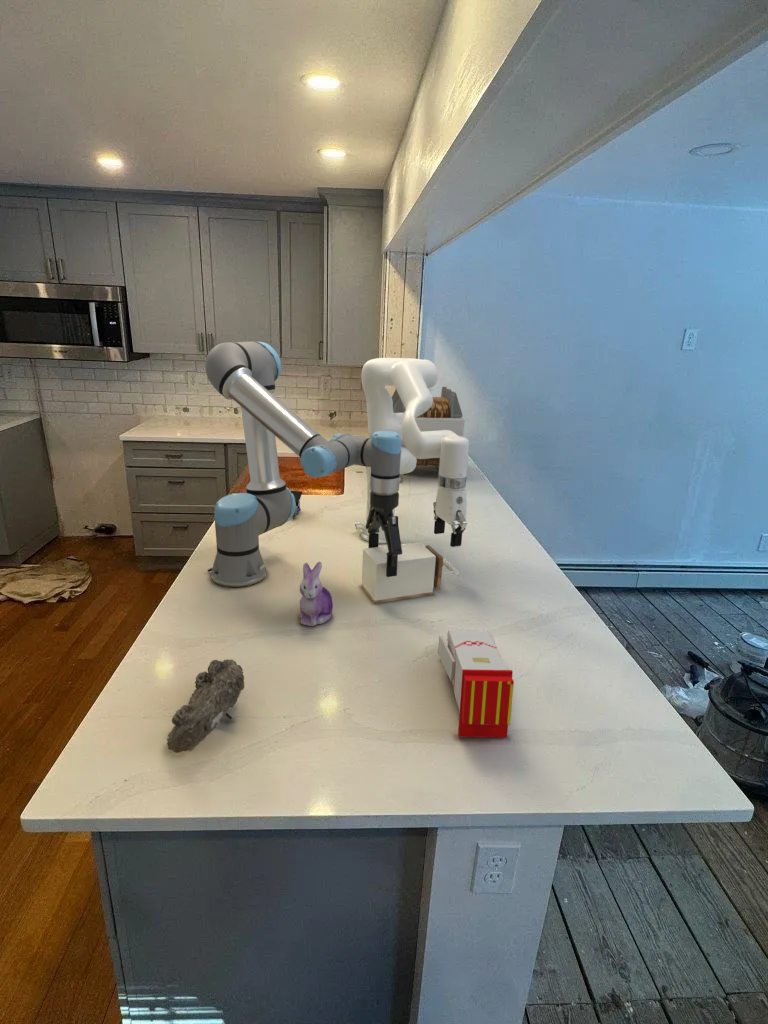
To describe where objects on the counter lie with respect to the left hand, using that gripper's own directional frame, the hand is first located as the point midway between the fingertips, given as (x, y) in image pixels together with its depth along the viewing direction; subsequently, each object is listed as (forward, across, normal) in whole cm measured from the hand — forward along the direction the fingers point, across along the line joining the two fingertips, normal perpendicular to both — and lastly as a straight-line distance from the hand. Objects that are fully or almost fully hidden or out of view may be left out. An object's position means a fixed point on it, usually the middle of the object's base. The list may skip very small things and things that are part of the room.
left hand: (381, 565), depth 155 cm
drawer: (+8, 0, -11) cm, 13 cm away
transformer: (+8, +109, -63) cm, 126 cm away
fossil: (+8, -37, +49) cm, 62 cm away
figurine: (+8, -8, +21) cm, 24 cm away
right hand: (-5, 0, -20) cm, 20 cm away
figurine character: (+8, +68, +9) cm, 69 cm away
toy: (+9, -46, -2) cm, 47 cm away
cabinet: (+8, 0, -5) cm, 10 cm away
